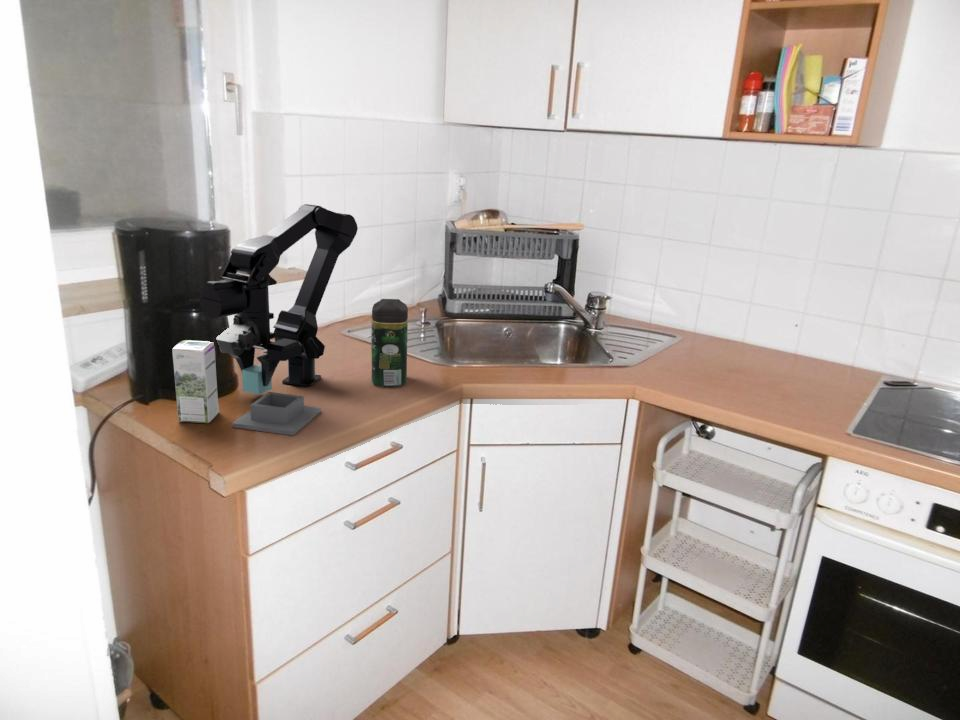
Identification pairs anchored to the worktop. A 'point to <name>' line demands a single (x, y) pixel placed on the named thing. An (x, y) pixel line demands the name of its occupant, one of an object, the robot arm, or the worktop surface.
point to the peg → (254, 380)
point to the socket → (277, 414)
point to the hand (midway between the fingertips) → (257, 383)
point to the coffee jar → (389, 343)
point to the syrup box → (195, 381)
